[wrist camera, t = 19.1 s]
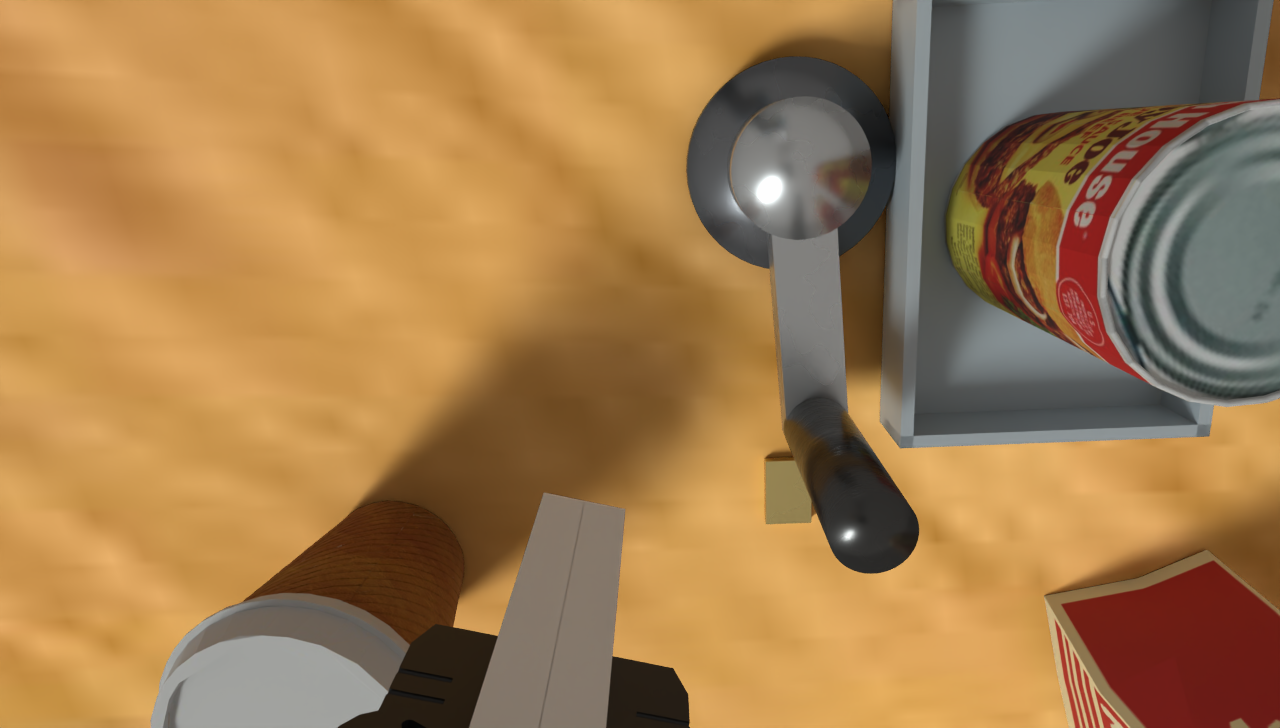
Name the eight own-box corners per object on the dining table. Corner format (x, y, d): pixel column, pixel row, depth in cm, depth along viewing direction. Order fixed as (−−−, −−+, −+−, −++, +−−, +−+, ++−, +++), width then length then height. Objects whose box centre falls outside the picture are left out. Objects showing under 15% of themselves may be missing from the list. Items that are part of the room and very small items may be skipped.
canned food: (1130, 84, 31) (1413, 54, 19) (1158, 282, 33) (1429, 360, 21) (924, 147, 32) (1078, 154, 20) (964, 336, 34) (1125, 441, 22)
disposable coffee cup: (487, 462, 36) (408, 615, 25) (509, 647, 39) (446, 864, 28) (277, 472, 37) (103, 627, 25) (313, 655, 39) (170, 872, 28)
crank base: (682, 64, 32) (683, 62, 31) (891, 53, 31) (899, 50, 30) (689, 269, 34) (690, 274, 33) (884, 261, 34) (892, 265, 32)
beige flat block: (764, 458, 36) (765, 461, 36) (810, 456, 36) (811, 460, 36) (764, 519, 37) (765, 524, 36) (809, 518, 37) (811, 522, 36)
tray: (892, -3, 31) (917, -18, 28) (1218, -22, 30) (1279, -39, 27) (879, 421, 35) (900, 448, 32) (1162, 410, 35) (1209, 436, 32)
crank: (720, 107, 31) (751, 95, 21) (855, 90, 30) (952, 70, 20) (752, 449, 34) (790, 581, 24) (871, 436, 34) (961, 564, 24)
